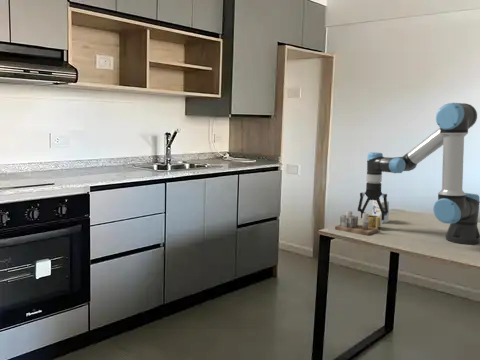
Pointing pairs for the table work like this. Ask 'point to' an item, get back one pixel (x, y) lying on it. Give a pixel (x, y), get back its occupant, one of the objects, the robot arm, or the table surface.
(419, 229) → the table surface
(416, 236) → the table surface
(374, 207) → the ink box
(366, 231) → the gear board
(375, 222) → the brass gear
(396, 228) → the table surface
